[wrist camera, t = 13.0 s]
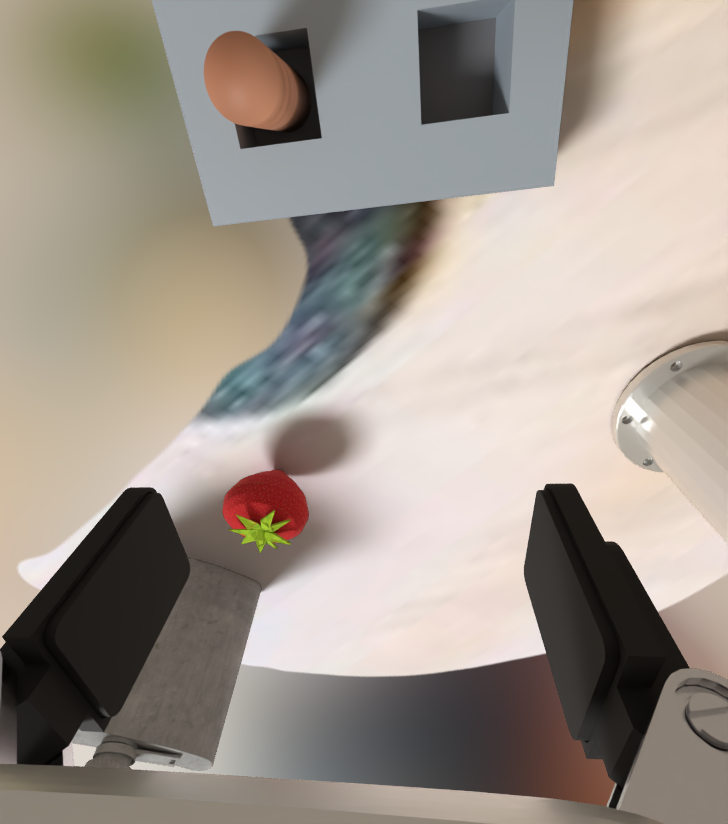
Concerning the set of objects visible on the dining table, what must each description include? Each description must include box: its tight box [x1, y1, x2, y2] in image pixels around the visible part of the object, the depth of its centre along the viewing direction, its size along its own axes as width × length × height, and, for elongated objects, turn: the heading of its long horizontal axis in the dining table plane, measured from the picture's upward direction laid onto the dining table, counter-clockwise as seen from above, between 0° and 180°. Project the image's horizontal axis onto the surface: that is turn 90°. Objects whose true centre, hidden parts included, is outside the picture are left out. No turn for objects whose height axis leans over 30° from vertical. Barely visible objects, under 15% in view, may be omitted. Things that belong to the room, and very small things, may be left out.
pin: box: [204, 31, 311, 132], centre depth 22 cm, size 3×3×9 cm
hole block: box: [152, 0, 573, 226], centre depth 24 cm, size 20×12×5 cm, turn 96°
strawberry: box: [223, 470, 309, 553], centre depth 38 cm, size 6×8×10 cm
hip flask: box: [72, 557, 261, 771], centre depth 42 cm, size 16×4×20 cm, turn 67°
